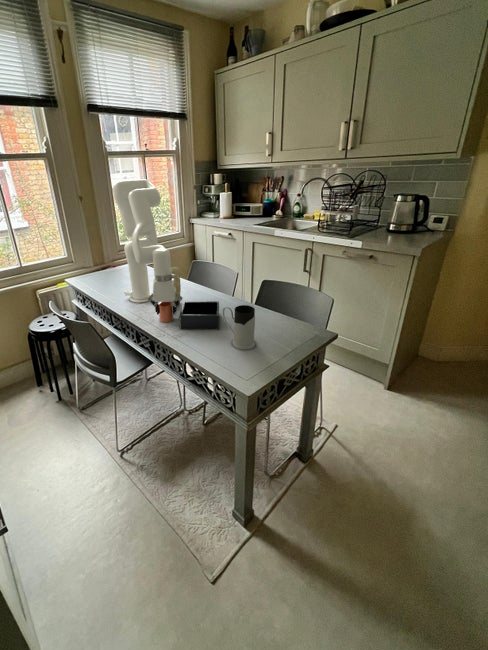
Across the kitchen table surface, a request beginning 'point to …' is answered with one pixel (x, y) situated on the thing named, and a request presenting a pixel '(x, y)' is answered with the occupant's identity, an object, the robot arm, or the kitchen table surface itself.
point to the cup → (166, 311)
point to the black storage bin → (200, 315)
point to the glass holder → (243, 326)
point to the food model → (176, 280)
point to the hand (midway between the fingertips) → (166, 313)
